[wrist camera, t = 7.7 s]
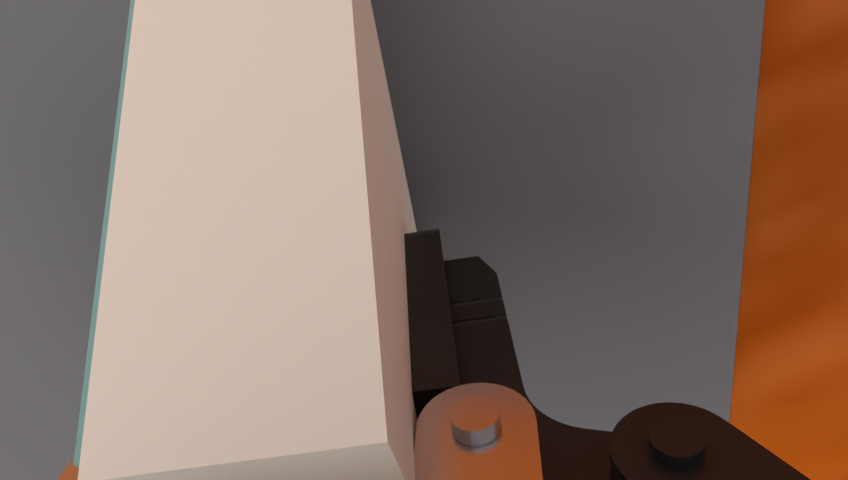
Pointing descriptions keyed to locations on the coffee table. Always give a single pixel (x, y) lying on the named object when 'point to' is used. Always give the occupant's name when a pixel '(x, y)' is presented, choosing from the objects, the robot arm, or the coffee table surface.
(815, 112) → the coffee table surface
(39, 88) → the mat
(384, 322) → the tile
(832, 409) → the coffee table surface
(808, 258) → the coffee table surface
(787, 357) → the coffee table surface
